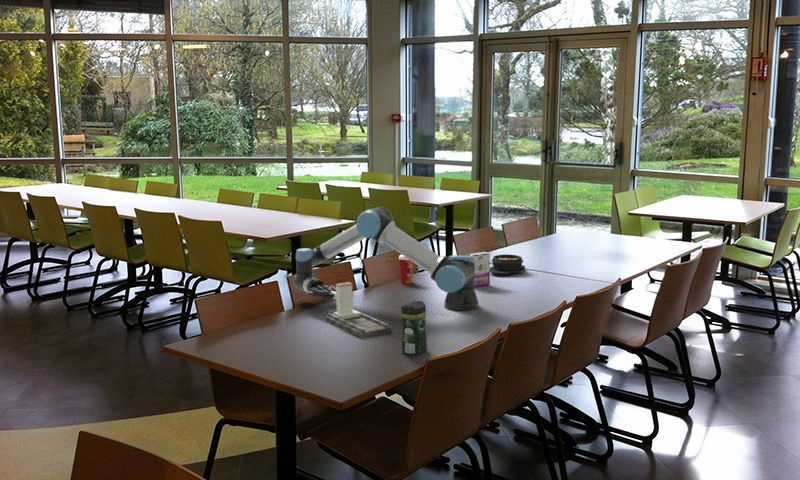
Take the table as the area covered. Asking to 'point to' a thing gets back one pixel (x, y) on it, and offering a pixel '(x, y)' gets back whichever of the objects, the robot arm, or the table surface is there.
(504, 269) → the casserole
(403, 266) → the paper cup
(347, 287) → the post
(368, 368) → the table surface
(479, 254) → the candy bar box
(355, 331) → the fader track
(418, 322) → the coffee jar
